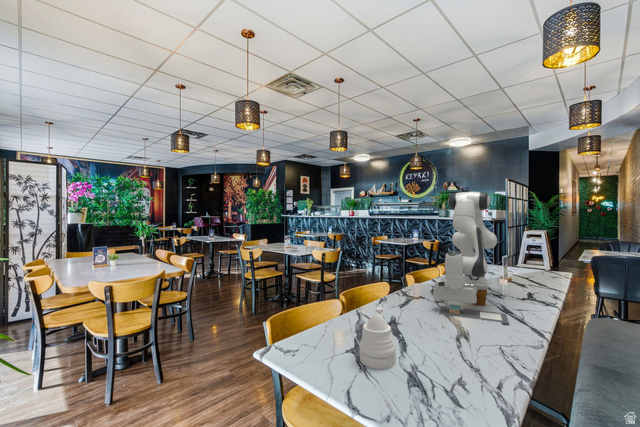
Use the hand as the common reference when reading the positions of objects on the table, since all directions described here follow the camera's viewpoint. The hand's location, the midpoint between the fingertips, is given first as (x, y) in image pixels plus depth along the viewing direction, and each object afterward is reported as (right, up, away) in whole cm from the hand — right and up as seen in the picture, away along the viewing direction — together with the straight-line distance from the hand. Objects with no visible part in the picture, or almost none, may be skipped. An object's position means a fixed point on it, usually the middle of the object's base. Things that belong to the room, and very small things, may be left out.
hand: (454, 309), depth 153 cm
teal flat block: (0, -1, 0) cm, 1 cm away
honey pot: (-48, -3, -46) cm, 67 cm away
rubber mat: (+7, -2, -4) cm, 8 cm away
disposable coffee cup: (+19, -2, +12) cm, 22 cm away
